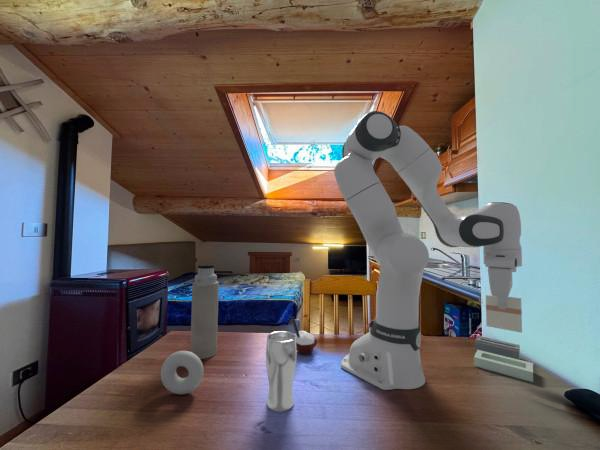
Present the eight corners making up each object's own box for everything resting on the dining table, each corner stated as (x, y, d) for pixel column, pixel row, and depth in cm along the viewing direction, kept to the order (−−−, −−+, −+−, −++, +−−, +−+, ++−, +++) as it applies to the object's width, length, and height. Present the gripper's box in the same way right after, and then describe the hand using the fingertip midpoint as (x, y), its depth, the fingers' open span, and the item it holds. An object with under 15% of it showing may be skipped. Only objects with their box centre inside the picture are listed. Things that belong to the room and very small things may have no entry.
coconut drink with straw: (315, 349, 92) (317, 312, 93) (319, 356, 85) (321, 317, 86) (287, 349, 90) (289, 312, 91) (289, 356, 84) (291, 317, 85)
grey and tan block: (475, 357, 86) (475, 340, 86) (478, 351, 91) (478, 334, 91) (519, 369, 79) (518, 350, 79) (519, 361, 84) (519, 343, 84)
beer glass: (291, 415, 57) (293, 343, 58) (260, 410, 59) (261, 340, 59) (298, 396, 64) (299, 332, 65) (270, 392, 66) (271, 329, 66)
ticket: (486, 326, 79) (485, 295, 80) (487, 324, 81) (486, 294, 81) (521, 332, 74) (521, 299, 74) (522, 331, 75) (521, 298, 76)
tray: (474, 369, 79) (473, 357, 79) (477, 361, 84) (477, 349, 84) (533, 386, 70) (533, 372, 70) (533, 375, 75) (532, 363, 75)
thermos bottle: (205, 346, 92) (208, 262, 93) (222, 351, 88) (224, 264, 88) (184, 354, 85) (187, 264, 86) (201, 361, 81) (203, 266, 82)
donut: (156, 397, 63) (158, 353, 63) (164, 389, 66) (165, 347, 67) (200, 398, 63) (201, 354, 63) (205, 389, 66) (206, 348, 67)
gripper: (492, 256, 88) (493, 299, 88) (484, 260, 72) (485, 313, 72) (517, 257, 84) (518, 302, 83) (514, 262, 68) (515, 318, 68)
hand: (503, 307), depth 78 cm, fingers closed on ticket, 2 cm apart
